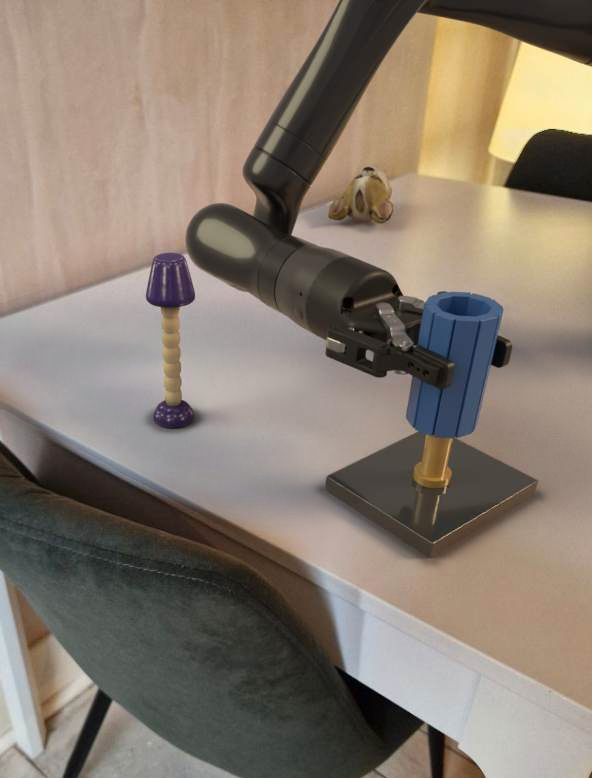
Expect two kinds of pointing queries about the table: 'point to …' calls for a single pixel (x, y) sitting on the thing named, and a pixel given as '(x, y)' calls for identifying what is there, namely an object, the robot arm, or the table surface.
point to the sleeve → (455, 362)
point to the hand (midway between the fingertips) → (479, 366)
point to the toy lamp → (171, 332)
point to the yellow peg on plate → (430, 489)
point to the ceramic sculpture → (365, 198)
